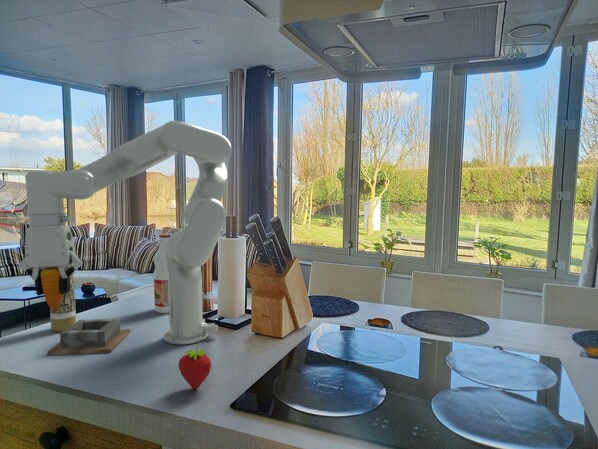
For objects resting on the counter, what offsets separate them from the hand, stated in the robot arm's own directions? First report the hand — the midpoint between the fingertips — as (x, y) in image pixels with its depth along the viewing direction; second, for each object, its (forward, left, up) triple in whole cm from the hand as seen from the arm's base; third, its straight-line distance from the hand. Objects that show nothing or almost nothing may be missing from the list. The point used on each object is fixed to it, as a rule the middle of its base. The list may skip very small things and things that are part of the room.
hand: (53, 292), depth 100 cm
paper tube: (+11, -26, -18) cm, 33 cm away
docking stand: (-3, -13, -18) cm, 22 cm away
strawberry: (-37, +17, -18) cm, 45 cm away
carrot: (0, 0, -5) cm, 5 cm away
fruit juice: (-17, -44, -18) cm, 50 cm away
